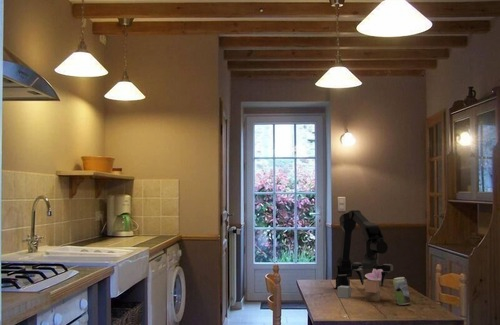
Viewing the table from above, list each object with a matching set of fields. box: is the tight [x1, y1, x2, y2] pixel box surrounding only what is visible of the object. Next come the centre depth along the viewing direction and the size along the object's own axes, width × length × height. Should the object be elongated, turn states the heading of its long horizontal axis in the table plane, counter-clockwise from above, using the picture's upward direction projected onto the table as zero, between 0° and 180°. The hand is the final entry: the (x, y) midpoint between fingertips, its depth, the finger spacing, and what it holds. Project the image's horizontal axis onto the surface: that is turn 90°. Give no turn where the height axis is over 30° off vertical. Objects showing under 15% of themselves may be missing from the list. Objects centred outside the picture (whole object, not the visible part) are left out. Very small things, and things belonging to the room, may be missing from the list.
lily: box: [364, 269, 383, 284], centre depth 304 cm, size 12×12×10 cm
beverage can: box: [392, 276, 411, 306], centre depth 249 cm, size 6×7×12 cm
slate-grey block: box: [337, 285, 352, 299], centre depth 269 cm, size 5×5×5 cm
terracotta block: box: [364, 279, 380, 293], centre depth 262 cm, size 5×5×5 cm
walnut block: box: [364, 290, 381, 302], centre depth 261 cm, size 6×6×4 cm
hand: (372, 285), depth 262 cm, fingers open, 9 cm apart
